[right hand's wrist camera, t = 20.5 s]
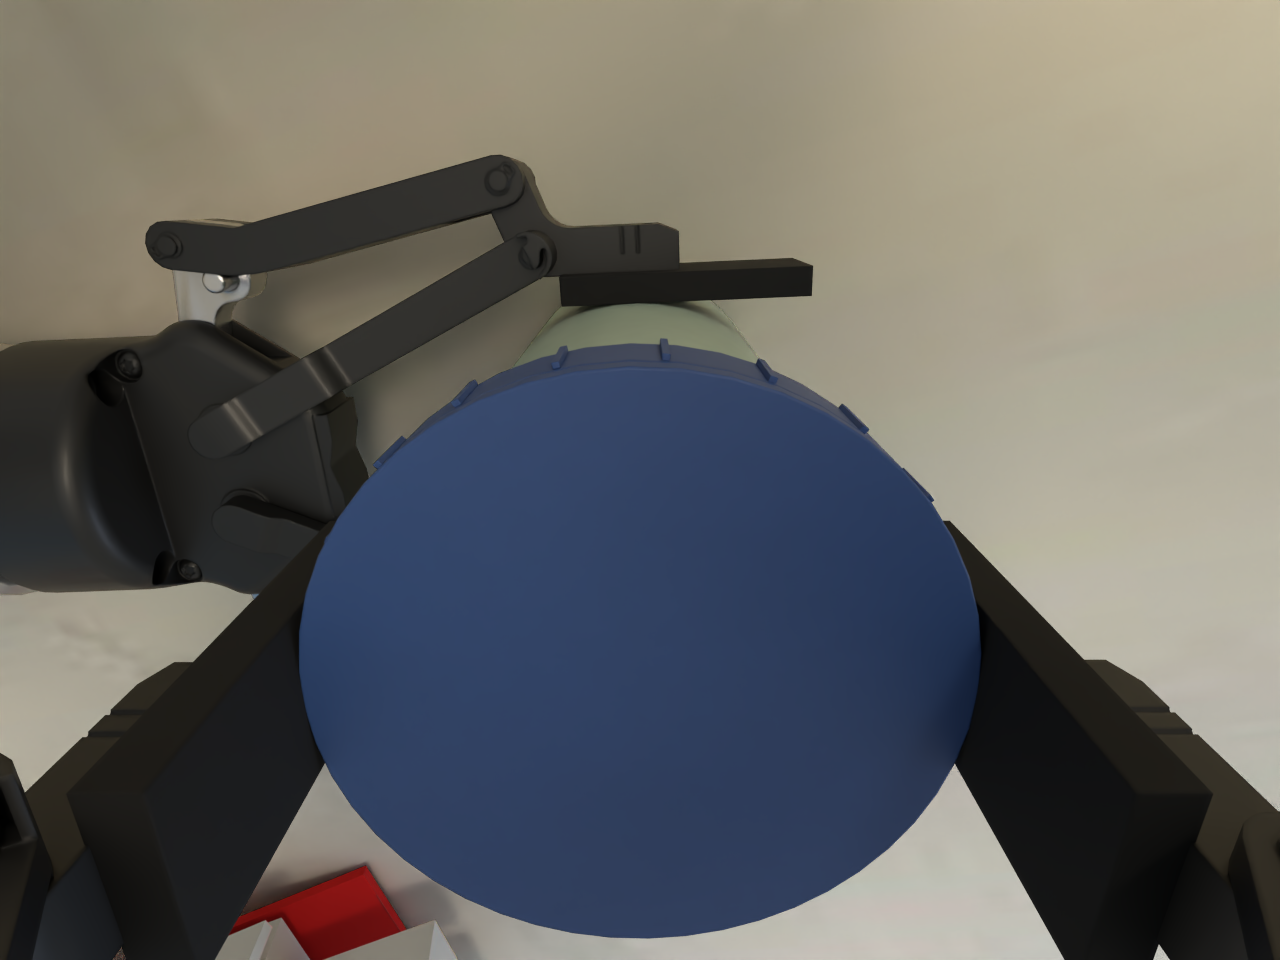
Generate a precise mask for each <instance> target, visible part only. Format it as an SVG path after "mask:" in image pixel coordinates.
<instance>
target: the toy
mask: <svg viewBox="0 0 1280 960" xmlns="http://www.w3.org/2000/svg"><path fill="white" fill-rule="evenodd" d="M215 960H458V959H457V957H456V955H455V953H454V952H453V950H452V948H451V946H450V945H449V943H448V941H447V939H446V938H445V936H444V934H443V933H442V931H441V929H440V927H439V926H438V924H437V922H436V920H432V921H429V922H427V923H424V924H421V925H418V926H416V927H413V928H410V929H406V928H405V926H404V925H403V923H402V921H401V920H400V918H399V917H398V915H397V914H396V912H395V910H394V909H393V907H392V906H391V904H390V903H389V901H388V900H387V898H386V896H385V895H384V893H383V892H382V890H381V889H380V887H379V886H378V884H377V882H376V881H375V879H374V878H373V876H372V875H371V873H370V871H369V870H368V868H367V867H366V866H363V867H361V868H359V869H356V870H354V871H351V872H349V873H346V874H344V875H341V876H339V877H336V878H334V879H331V880H329V881H326V882H324V883H321V884H319V885H317V886H314V887H312V888H309V889H307V890H304V891H302V892H299V893H297V894H294V895H292V896H289V897H287V898H284V899H282V900H279V901H277V902H275V903H272V904H270V905H267V906H265V907H262V908H260V909H257V910H255V911H252V912H250V913H247V914H245V915H242V916H240V917H239V918H238V919H237V921H236V923H235V925H234V927H233V928H232V930H231V932H230V934H229V936H228V937H227V939H226V941H225V943H224V944H223V946H222V948H221V950H220V952H219V953H218V955H217V957H216V959H215Z"/></svg>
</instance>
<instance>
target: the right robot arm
mask: <svg viewBox="0 0 1280 960" xmlns="http://www.w3.org/2000/svg"><path fill="white" fill-rule="evenodd" d="M943 522H944V524H945V525H946V527H947V529H948V530H949V532H950V534H951V535H952V537H953V539H954V540H955V543H956V545H957V548H958V550H959V553H960V555H961V557H962V560H963V562H964V565H965V567H966V570H967V572H968V574H969V577H970V581H971V585H972V589H973V593H974V598H975V602H976V606H977V611H978V615H979V627H980V641H981V666H980V677H979V684H978V690H977V695H976V700H975V705H974V709H973V714H972V719H971V723H970V727H969V730H968V733H967V735H966V738H965V740H964V742H963V745H962V747H961V750H960V752H959V755H958V757H957V759H956V762H955V765H956V766H957V768H958V770H959V772H960V774H961V775H962V777H963V779H964V781H965V783H966V784H967V786H968V788H969V790H970V792H971V793H972V795H973V797H974V799H975V800H976V802H977V804H978V806H979V808H980V809H981V811H982V813H983V815H984V817H985V818H986V820H987V822H988V824H989V825H990V827H991V829H992V831H993V833H994V834H995V836H996V838H997V840H998V842H999V843H1000V845H1001V847H1002V849H1003V851H1004V852H1005V854H1006V856H1007V858H1008V859H1009V861H1010V863H1011V865H1012V867H1013V868H1014V870H1015V872H1016V874H1017V876H1018V877H1019V879H1020V881H1021V883H1022V885H1023V886H1024V888H1025V890H1026V892H1027V893H1028V895H1029V897H1030V899H1031V901H1032V902H1033V904H1034V906H1035V908H1036V910H1037V911H1038V913H1039V915H1040V917H1041V919H1042V920H1043V922H1044V924H1045V926H1046V927H1047V929H1048V931H1049V933H1050V935H1051V936H1052V938H1053V940H1054V942H1055V944H1056V945H1057V947H1058V949H1059V951H1060V952H1061V954H1062V956H1063V958H1064V960H1153V959H1154V956H1155V953H1156V950H1157V948H1158V945H1160V946H1161V948H1162V949H1163V950H1164V952H1165V953H1166V955H1167V956H1168V958H1169V959H1170V960H1280V811H1277V810H1276V809H1275V808H1274V807H1273V806H1272V805H1271V804H1270V803H1269V802H1268V801H1267V800H1266V799H1265V798H1264V797H1263V796H1262V795H1260V794H1259V793H1258V792H1257V791H1256V790H1255V789H1254V788H1253V787H1252V786H1251V785H1250V784H1249V783H1248V782H1247V781H1246V780H1245V779H1244V778H1243V777H1242V776H1241V775H1240V774H1239V773H1237V772H1236V771H1235V770H1234V769H1233V768H1232V767H1231V766H1230V765H1229V764H1228V763H1227V762H1226V761H1225V760H1224V759H1223V758H1222V757H1221V756H1220V755H1219V754H1218V753H1217V752H1216V751H1215V750H1213V749H1212V748H1211V747H1210V746H1209V745H1208V744H1207V743H1206V742H1205V741H1204V740H1203V739H1202V738H1201V737H1200V736H1199V735H1193V733H1192V728H1190V727H1189V726H1188V725H1187V724H1186V723H1185V722H1184V721H1183V720H1182V719H1181V718H1180V717H1179V716H1178V715H1177V714H1176V713H1171V712H1170V710H1169V706H1168V705H1166V704H1165V703H1164V702H1163V701H1162V700H1161V699H1160V698H1159V697H1158V696H1157V695H1156V694H1155V693H1154V692H1153V691H1152V690H1151V689H1150V688H1149V687H1148V686H1147V685H1146V684H1145V683H1143V682H1142V681H1141V680H1139V679H1137V678H1136V677H1134V676H1132V675H1130V674H1129V673H1127V672H1125V671H1124V670H1122V669H1120V668H1119V667H1117V666H1115V665H1114V664H1112V663H1110V662H1108V661H1107V660H1084V659H1083V658H1082V657H1081V656H1080V655H1079V654H1078V653H1077V652H1076V651H1075V650H1074V649H1073V648H1072V647H1071V646H1070V645H1069V644H1068V643H1067V642H1066V641H1065V640H1064V639H1063V638H1062V636H1061V635H1060V634H1059V633H1058V632H1057V631H1056V630H1055V629H1054V628H1053V627H1052V626H1051V625H1050V624H1049V623H1048V622H1047V621H1046V620H1045V619H1044V618H1043V617H1042V616H1041V615H1040V614H1039V613H1038V612H1037V611H1036V610H1035V609H1034V608H1033V606H1032V605H1031V604H1030V603H1029V602H1028V601H1027V600H1026V599H1025V598H1024V597H1023V596H1022V595H1021V594H1020V593H1019V592H1018V591H1017V590H1016V589H1015V588H1014V587H1013V586H1012V585H1011V584H1010V583H1009V582H1008V581H1007V580H1006V579H1005V578H1004V576H1003V575H1002V574H1001V573H1000V572H999V571H998V570H997V569H996V568H995V567H994V566H993V565H992V564H991V563H990V562H989V561H988V560H987V559H986V558H985V557H984V556H983V555H982V554H981V553H980V552H979V551H978V550H977V549H976V548H975V547H974V545H973V544H972V543H971V542H970V541H969V540H968V539H967V538H966V537H965V536H964V535H963V534H962V533H961V532H960V531H959V530H958V529H957V528H956V527H955V526H954V525H953V524H952V523H951V522H950V521H943ZM335 523H336V521H329V522H328V523H327V524H326V525H325V526H324V527H323V528H322V529H321V530H320V532H319V533H318V534H317V535H316V536H315V537H314V538H313V539H312V540H311V541H310V542H309V543H308V544H307V545H306V546H305V547H304V548H303V549H302V550H301V551H300V552H299V553H298V554H297V555H296V556H295V557H294V558H293V559H292V560H291V561H290V563H289V564H288V565H287V566H286V567H285V568H284V569H283V570H282V571H281V572H280V573H279V574H278V575H277V576H276V577H275V578H274V579H273V580H272V581H271V582H270V583H269V584H268V585H267V586H266V587H265V588H264V589H263V590H262V591H261V593H260V594H259V595H258V596H257V597H256V598H255V599H254V600H253V601H252V602H251V603H250V604H249V605H248V606H247V607H246V608H245V609H244V610H243V611H242V612H241V613H240V614H239V615H238V616H237V617H236V618H235V619H234V620H233V621H232V623H231V624H230V625H229V626H228V627H227V628H226V629H225V630H224V631H223V632H222V633H221V634H220V635H219V636H218V637H217V638H216V639H215V640H214V641H213V642H212V643H211V644H210V645H209V646H208V647H207V648H206V649H205V650H204V651H203V652H202V654H201V655H200V656H199V657H198V658H197V659H196V660H195V661H194V662H174V663H172V664H171V665H169V666H167V667H166V668H164V669H162V670H161V671H159V672H157V673H156V674H154V675H152V676H151V677H149V678H147V679H145V680H144V681H142V682H140V683H139V684H137V685H136V686H135V687H134V688H133V689H132V690H131V691H130V692H129V693H128V694H127V695H126V696H125V697H124V698H123V699H122V700H121V701H120V702H119V703H118V704H116V705H115V706H114V707H113V708H112V709H111V713H110V715H105V716H104V717H103V718H102V719H101V720H100V721H99V722H98V723H97V724H96V725H95V726H94V727H93V728H92V729H91V730H89V731H88V736H87V737H82V738H81V739H80V740H79V741H78V742H77V743H76V744H75V745H74V746H73V747H72V748H71V749H70V750H69V751H68V752H67V753H66V754H65V755H64V756H63V757H61V758H60V759H59V760H58V761H57V762H56V763H55V764H54V765H53V766H52V767H51V768H50V769H49V770H48V771H47V772H46V773H45V774H44V775H43V776H42V777H41V778H40V779H39V780H38V781H37V782H36V783H34V784H33V785H32V786H31V787H30V788H29V789H28V790H27V791H26V792H24V790H23V787H22V784H21V782H20V779H19V777H18V774H17V772H16V769H15V767H14V764H13V761H12V760H11V759H9V758H8V757H6V756H4V755H3V754H1V753H0V960H113V958H114V957H115V955H116V954H117V952H118V951H119V949H120V948H121V947H122V949H123V952H124V955H125V958H126V960H215V959H216V957H217V955H218V953H219V952H220V950H221V948H222V946H223V944H224V943H225V941H226V939H227V937H228V936H229V934H230V932H231V930H232V928H233V927H234V925H235V923H236V921H237V919H238V918H239V916H240V914H241V912H242V910H243V909H244V907H245V905H246V903H247V902H248V900H249V898H250V896H251V894H252V893H253V891H254V889H255V887H256V885H257V884H258V882H259V880H260V878H261V876H262V875H263V873H264V871H265V869H266V868H267V866H268V864H269V862H270V860H271V859H272V857H273V855H274V853H275V851H276V850H277V848H278V846H279V844H280V843H281V841H282V839H283V837H284V835H285V834H286V832H287V830H288V828H289V826H290V825H291V823H292V821H293V819H294V817H295V816H296V814H297V812H298V810H299V809H300V807H301V805H302V803H303V801H304V800H305V798H306V796H307V794H308V792H309V791H310V789H311V787H312V785H313V783H314V782H315V780H316V778H317V776H318V775H319V773H320V771H321V769H322V767H323V766H324V764H325V761H324V759H323V757H322V755H321V753H320V751H319V749H318V747H317V745H316V742H315V739H314V736H313V733H312V730H311V727H310V723H309V720H308V717H307V713H306V708H305V703H304V698H303V693H302V687H301V681H300V675H299V630H300V624H301V618H302V611H303V605H304V599H305V593H306V590H307V587H308V584H309V582H310V579H311V576H312V573H313V570H314V567H315V564H316V561H317V558H318V555H319V553H320V551H321V549H322V547H323V545H324V544H325V543H324V541H325V538H326V537H327V535H328V534H329V533H330V532H331V530H332V528H333V526H334V524H335Z"/></svg>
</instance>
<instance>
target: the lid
mask: <svg viewBox="0 0 1280 960" xmlns="http://www.w3.org/2000/svg"><path fill="white" fill-rule="evenodd" d="M868 431H869V429H868V428H867V427H866V426H865V425H864V424H863V423H862V422H861V421H860V420H859V419H858V418H857V417H856V416H855V415H854V414H853V413H852V412H851V411H850V410H849V409H848V408H847V407H846V406H845V405H843V404H841V406H840V407H839V408H838V407H837V406H835V405H834V404H832V403H830V402H829V401H827V400H826V399H824V398H823V397H821V396H820V395H818V394H817V393H815V392H814V391H812V390H810V389H809V388H807V387H806V386H804V385H803V384H801V383H799V382H796V381H794V380H792V379H790V378H788V377H786V376H784V375H781V374H779V373H777V372H775V371H773V370H772V369H771V368H770V367H769V366H768V364H767V363H766V362H765V361H764V360H762V359H759V358H758V360H757V362H756V364H755V363H752V362H749V361H746V360H743V359H739V358H736V357H733V356H730V355H727V354H723V353H720V352H714V351H708V350H702V349H697V348H691V347H685V346H679V345H669V343H668V339H665V338H660V344H637V343H628V344H617V345H606V346H595V347H585V348H581V349H576V350H572V351H568V347H567V345H566V346H561V347H560V348H559V349H558V351H557V353H556V354H554V355H550V356H546V357H541V358H538V359H536V360H533V361H530V362H528V363H525V364H523V365H520V366H517V367H515V368H512V369H509V370H507V371H504V372H501V373H499V374H497V375H495V376H493V377H491V378H490V379H488V380H486V381H484V382H482V383H480V384H479V385H478V383H477V382H476V380H473V381H471V382H469V383H468V384H467V385H466V386H465V387H464V389H463V390H462V391H461V392H460V393H459V394H458V395H457V396H456V397H455V398H454V399H453V400H452V401H451V402H450V403H448V404H447V405H446V406H444V407H443V408H442V409H440V410H439V411H437V412H436V413H435V414H433V415H432V416H431V417H429V418H428V419H427V420H426V421H425V422H424V423H423V424H422V425H421V426H420V427H419V428H418V429H417V430H416V431H415V432H414V433H413V434H412V435H411V436H410V437H409V438H408V439H407V440H406V439H405V438H404V437H403V436H401V437H400V438H399V439H398V440H397V441H396V442H395V443H394V444H393V445H392V446H391V447H390V448H389V449H388V450H387V451H386V452H385V453H384V454H383V455H382V456H381V457H380V458H379V459H378V460H377V461H376V462H375V463H374V464H373V466H374V467H375V468H377V470H376V471H375V472H374V473H373V474H372V475H371V476H370V477H369V479H368V480H367V481H366V482H365V483H364V484H363V485H362V486H361V488H360V489H359V490H358V492H357V493H356V494H355V496H354V497H353V499H352V500H351V501H350V503H349V504H348V505H347V507H346V508H345V509H344V511H343V512H342V513H341V515H340V516H339V517H338V519H337V521H336V523H335V524H334V526H333V528H332V530H331V532H330V533H329V534H328V535H327V537H326V538H325V541H324V543H325V544H324V545H323V547H322V549H321V551H320V553H319V555H318V558H317V561H316V564H315V567H314V570H313V573H312V576H311V579H310V582H309V584H308V587H307V590H306V593H305V599H304V605H303V611H302V618H301V624H300V630H299V675H300V681H301V687H302V693H303V698H304V703H305V708H306V713H307V717H308V720H309V723H310V727H311V730H312V733H313V736H314V739H315V742H316V745H317V747H318V749H319V751H320V753H321V755H322V757H323V759H324V761H325V763H326V765H327V768H328V770H329V772H330V774H331V776H332V777H333V779H334V780H335V782H336V783H337V785H338V786H339V788H340V789H341V791H342V792H343V794H344V795H345V797H346V799H347V800H348V802H349V803H350V805H351V806H352V807H353V808H354V810H355V811H356V812H357V813H358V814H359V815H360V817H361V818H362V819H363V820H364V821H365V822H366V823H367V825H368V826H369V827H370V828H371V829H372V830H373V832H374V833H375V834H376V835H377V836H378V837H379V838H381V839H382V840H383V841H384V842H385V843H386V844H387V845H388V846H389V847H391V848H392V849H393V850H394V851H395V852H396V853H397V854H398V855H399V856H400V857H402V858H403V859H404V860H405V861H407V862H408V863H410V864H411V865H412V866H414V867H415V868H417V869H418V870H419V871H421V872H422V873H424V874H425V875H426V876H428V877H429V878H431V879H432V880H433V881H435V882H437V883H439V884H440V885H442V886H444V887H446V888H448V889H449V890H451V891H453V892H455V893H456V894H458V895H460V896H462V897H464V898H465V899H468V900H470V901H472V902H474V903H477V904H479V905H481V906H484V907H486V908H488V909H491V910H493V911H495V912H498V913H500V914H503V915H506V916H509V917H512V918H515V919H519V920H522V921H525V922H528V923H531V924H534V925H538V926H543V927H547V928H552V929H557V930H561V931H566V932H570V933H577V934H585V935H594V936H602V937H611V938H663V937H678V936H689V935H695V934H701V933H707V932H713V931H720V930H725V929H729V928H732V927H736V926H740V925H744V924H748V923H752V922H755V921H759V920H762V919H765V918H767V917H770V916H773V915H776V914H778V913H781V912H784V911H787V910H789V909H792V908H795V907H797V906H799V905H801V904H803V903H805V902H807V901H809V900H811V899H813V898H815V897H817V896H819V895H821V894H823V893H825V892H828V891H829V890H831V889H832V888H834V887H836V886H837V885H839V884H840V883H842V882H844V881H845V880H847V879H848V878H850V877H852V876H853V875H855V874H856V873H858V872H860V871H861V870H862V869H863V868H865V867H866V866H867V865H868V864H870V863H871V862H872V861H874V860H875V859H876V858H877V857H879V856H880V855H881V854H882V853H884V852H885V851H886V850H887V849H889V848H890V847H891V846H892V845H893V844H894V843H895V842H896V841H897V840H898V839H899V838H900V837H901V836H902V835H903V834H904V833H905V832H906V831H907V830H908V829H909V828H910V827H911V826H912V825H913V824H914V823H915V821H916V820H917V819H918V818H919V816H920V815H921V814H922V812H923V811H924V810H925V809H926V807H927V806H928V805H929V803H930V802H931V801H932V800H933V798H934V797H935V796H936V794H937V793H938V791H939V789H940V788H941V786H942V784H943V783H944V781H945V779H946V777H947V776H948V774H949V772H950V771H951V769H952V767H953V765H954V764H955V762H956V759H957V757H958V755H959V752H960V750H961V747H962V745H963V742H964V740H965V738H966V735H967V733H968V730H969V727H970V723H971V719H972V714H973V709H974V705H975V700H976V695H977V690H978V684H979V677H980V666H981V641H980V627H979V615H978V611H977V606H976V602H975V598H974V593H973V589H972V585H971V581H970V577H969V574H968V572H967V570H966V567H965V565H964V562H963V560H962V557H961V555H960V553H959V550H958V548H957V545H956V543H955V540H954V539H953V537H952V535H951V534H950V532H949V530H948V529H947V527H946V525H945V524H944V522H943V521H942V519H941V517H940V516H939V514H938V512H937V511H936V509H935V507H934V506H933V504H932V503H931V502H933V501H934V500H933V498H932V496H931V495H930V494H929V493H928V492H927V491H926V490H925V489H924V488H923V487H922V486H921V485H920V484H919V483H918V482H917V481H916V480H915V479H914V478H913V477H912V476H911V475H910V474H909V473H908V472H907V471H906V470H905V469H904V468H901V467H900V466H899V465H898V464H897V463H896V462H895V461H894V460H893V459H892V458H891V456H890V455H889V454H888V453H887V452H886V451H885V450H884V449H883V448H882V447H881V446H880V445H879V444H878V443H877V442H876V441H875V440H874V439H873V438H872V437H871V436H870V435H869V434H868V433H867V432H868Z"/></svg>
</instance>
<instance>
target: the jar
mask: <svg viewBox="0 0 1280 960" xmlns="http://www.w3.org/2000/svg"><path fill="white" fill-rule="evenodd" d="M660 338H665V339H668V343H669V345H679V346H685V347H691V348H697V349H702V350H708V351H714V352H720V353H723V354H727V355H730V356H733V357H736V358H739V359H743V360H746V361H749V362H752V363H755V364H756V362H757V360H758V358H759V357H758V356H757V355H756V353H755V352H754V351H753V349H752V348H751V347H750V345H749V344H748V343H747V341H746V340H745V339H744V338H743V336H742V335H741V334H740V332H739V331H738V330H737V328H736V327H735V326H734V324H733V323H732V322H731V321H730V319H729V318H728V317H727V316H726V315H725V313H724V312H723V311H722V310H721V309H720V308H719V307H717V306H716V305H715V304H714V303H713V302H712V301H711V300H706V301H683V302H660V303H636V304H615V305H592V306H570V307H562V306H561V307H560V308H559V309H558V310H557V311H556V312H555V313H554V314H553V316H552V317H551V318H550V319H549V321H548V322H547V323H546V324H545V326H544V327H543V328H542V330H541V331H540V332H539V333H538V335H537V336H536V337H535V339H534V340H533V341H532V343H531V344H530V345H529V347H528V348H527V349H526V351H525V352H524V353H523V354H522V356H521V357H520V358H519V360H518V361H517V362H516V364H515V365H514V366H513V368H515V367H517V366H520V365H523V364H525V363H528V362H530V361H533V360H536V359H538V358H541V357H546V356H550V355H554V354H556V353H557V351H558V349H559V348H560V347H561V346H566V345H567V347H568V351H572V350H576V349H581V348H585V347H595V346H606V345H617V344H628V343H637V344H660Z"/></svg>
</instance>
